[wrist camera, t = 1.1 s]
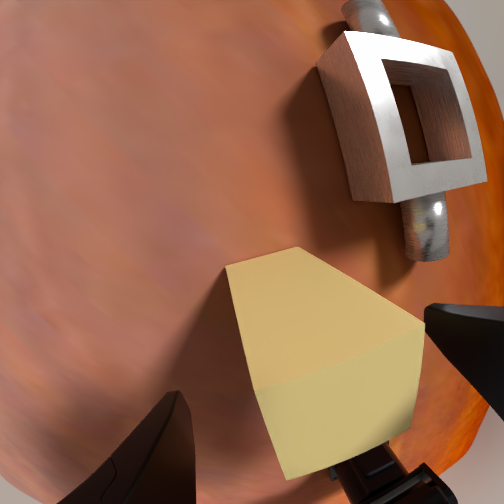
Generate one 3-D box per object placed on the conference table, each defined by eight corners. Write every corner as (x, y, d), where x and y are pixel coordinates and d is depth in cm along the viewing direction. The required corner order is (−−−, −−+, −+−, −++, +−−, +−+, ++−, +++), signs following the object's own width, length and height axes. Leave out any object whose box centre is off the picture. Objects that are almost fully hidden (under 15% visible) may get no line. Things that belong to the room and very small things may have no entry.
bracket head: (451, 234, 16) (491, 243, 13) (362, 266, 16) (401, 286, 12) (397, 25, 13) (427, 4, 9) (296, 14, 12) (317, -22, 8)
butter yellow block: (310, 311, 16) (409, 428, 6) (243, 331, 15) (286, 480, 6) (297, 246, 15) (424, 323, 5) (225, 266, 15) (254, 390, 5)
